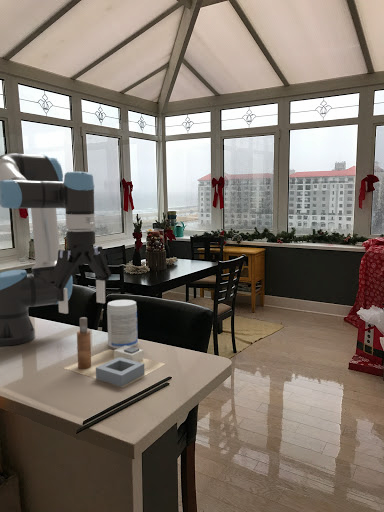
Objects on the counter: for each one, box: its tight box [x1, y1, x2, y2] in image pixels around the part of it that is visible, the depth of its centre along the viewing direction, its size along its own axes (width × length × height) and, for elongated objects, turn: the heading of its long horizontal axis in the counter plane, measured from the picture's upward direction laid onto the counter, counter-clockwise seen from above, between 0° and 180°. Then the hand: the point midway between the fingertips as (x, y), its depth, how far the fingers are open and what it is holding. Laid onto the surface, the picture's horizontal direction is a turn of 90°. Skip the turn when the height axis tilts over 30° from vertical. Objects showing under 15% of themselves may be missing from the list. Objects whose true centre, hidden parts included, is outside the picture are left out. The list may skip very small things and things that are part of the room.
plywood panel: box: [63, 348, 166, 388], centre depth 116 cm, size 22×18×1 cm
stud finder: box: [113, 345, 144, 362], centre depth 121 cm, size 7×5×4 cm
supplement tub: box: [106, 299, 139, 349], centre depth 134 cm, size 10×10×15 cm
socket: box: [95, 357, 144, 388], centre depth 109 cm, size 9×9×3 cm
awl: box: [76, 316, 92, 369], centre depth 115 cm, size 4×4×14 cm
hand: (83, 307), depth 113 cm, fingers open, 13 cm apart
